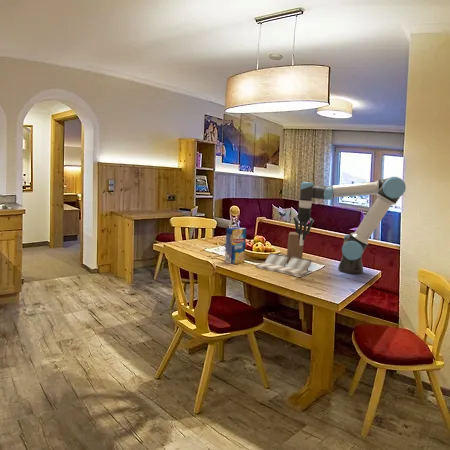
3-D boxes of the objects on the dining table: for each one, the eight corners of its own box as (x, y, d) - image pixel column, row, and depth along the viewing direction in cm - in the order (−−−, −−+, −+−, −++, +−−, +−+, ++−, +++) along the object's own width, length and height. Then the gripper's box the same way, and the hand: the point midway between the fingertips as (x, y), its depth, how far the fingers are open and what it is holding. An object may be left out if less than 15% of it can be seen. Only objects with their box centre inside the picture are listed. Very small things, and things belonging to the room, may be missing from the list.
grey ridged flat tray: (307, 273, 241) (307, 270, 241) (301, 276, 233) (301, 273, 233) (262, 264, 257) (262, 262, 256) (255, 267, 248) (255, 265, 248)
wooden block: (301, 265, 262) (304, 235, 259) (286, 263, 264) (288, 233, 261) (301, 261, 272) (304, 232, 269) (287, 260, 274) (289, 231, 271)
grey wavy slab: (311, 261, 248) (311, 259, 247) (306, 272, 243) (306, 270, 242) (291, 258, 255) (291, 256, 254) (286, 268, 249) (286, 266, 248)
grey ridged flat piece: (288, 258, 256) (288, 255, 255) (283, 267, 250) (283, 265, 249) (270, 254, 263) (269, 252, 262) (264, 264, 257) (264, 262, 256)
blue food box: (244, 262, 261) (246, 228, 258) (231, 263, 254) (233, 229, 251) (237, 259, 266) (239, 227, 263) (224, 261, 260) (226, 227, 257)
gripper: (317, 208, 245) (313, 246, 249) (297, 205, 252) (293, 242, 255) (313, 208, 239) (309, 247, 242) (292, 206, 246) (289, 244, 249)
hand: (301, 245), depth 249 cm, fingers closed
